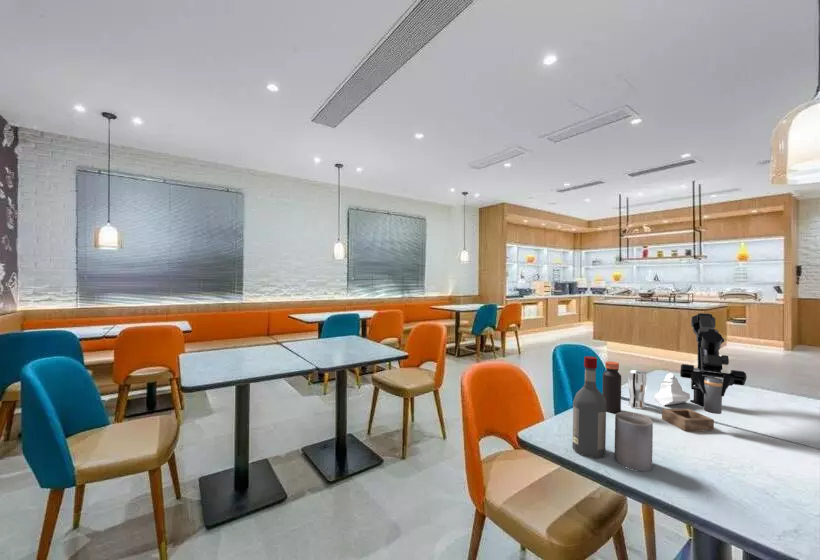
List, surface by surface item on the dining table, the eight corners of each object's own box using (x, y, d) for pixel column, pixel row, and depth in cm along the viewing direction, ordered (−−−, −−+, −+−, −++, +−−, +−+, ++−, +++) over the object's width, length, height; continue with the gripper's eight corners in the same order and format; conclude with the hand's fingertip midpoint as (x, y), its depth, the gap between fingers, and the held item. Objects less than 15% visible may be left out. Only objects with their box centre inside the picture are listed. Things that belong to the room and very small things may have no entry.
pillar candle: (617, 451, 114) (618, 405, 114) (654, 462, 108) (655, 412, 108) (611, 464, 107) (612, 414, 106) (650, 476, 100) (651, 423, 100)
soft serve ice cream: (646, 404, 161) (641, 372, 165) (670, 404, 166) (665, 372, 169) (674, 407, 150) (668, 372, 153) (699, 406, 154) (693, 372, 158)
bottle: (616, 407, 153) (616, 361, 152) (624, 413, 146) (624, 365, 145) (599, 407, 153) (600, 360, 153) (606, 413, 146) (607, 364, 146)
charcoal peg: (699, 408, 134) (700, 376, 133) (712, 408, 134) (713, 376, 134) (712, 414, 129) (713, 381, 128) (725, 413, 129) (726, 380, 129)
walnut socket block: (661, 419, 141) (662, 408, 141) (688, 418, 142) (688, 408, 142) (685, 431, 130) (685, 420, 130) (713, 430, 131) (713, 419, 131)
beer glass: (645, 410, 149) (646, 375, 149) (626, 406, 154) (627, 372, 153) (647, 406, 155) (647, 371, 155) (628, 402, 159) (629, 368, 159)
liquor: (605, 448, 116) (607, 356, 116) (604, 460, 108) (606, 362, 108) (574, 441, 121) (576, 353, 120) (571, 452, 113) (573, 358, 113)
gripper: (681, 343, 139) (682, 378, 131) (746, 349, 129) (752, 387, 120) (679, 359, 146) (680, 393, 137) (741, 366, 136) (746, 404, 127)
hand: (713, 394), depth 130 cm, fingers closed on charcoal peg, 5 cm apart
